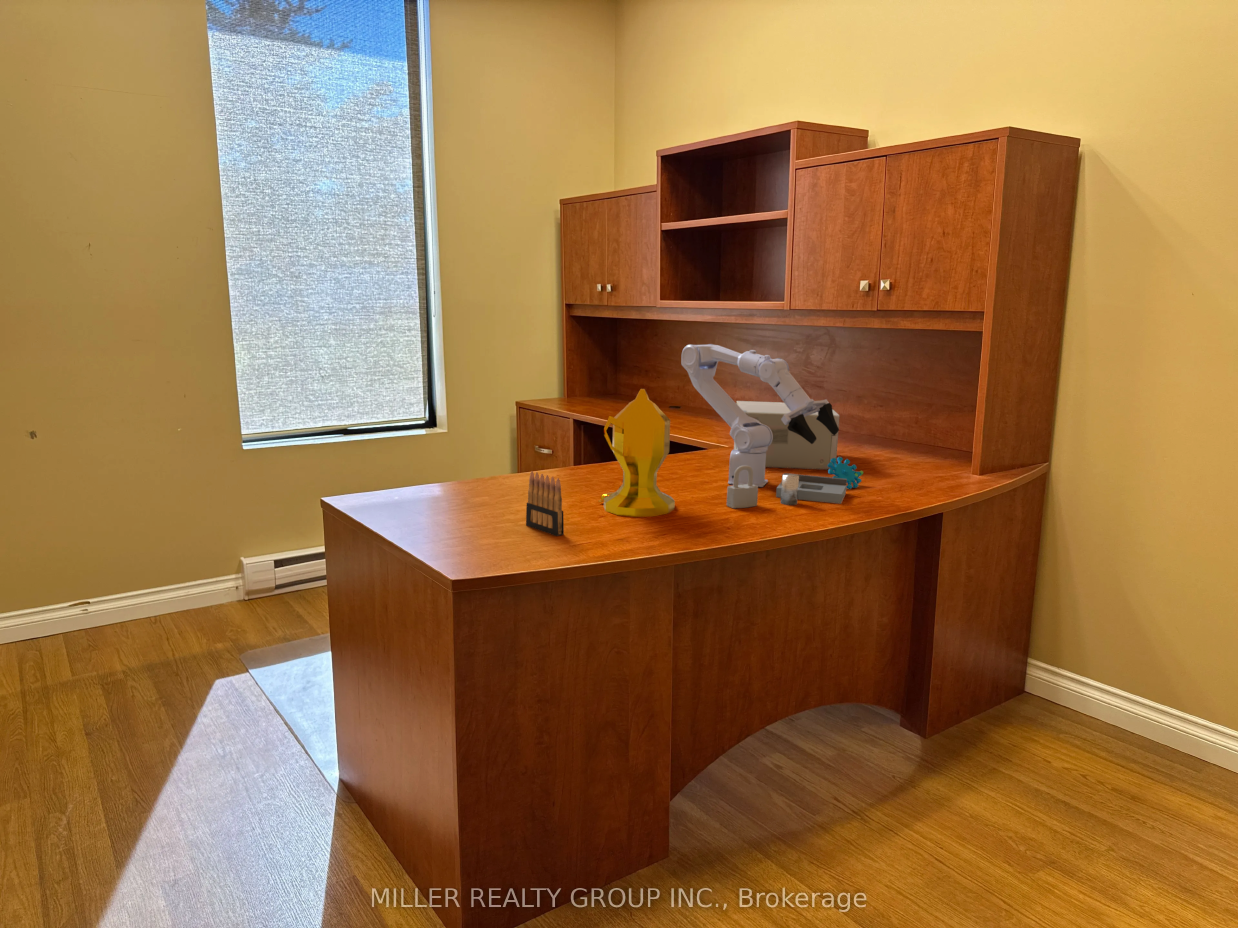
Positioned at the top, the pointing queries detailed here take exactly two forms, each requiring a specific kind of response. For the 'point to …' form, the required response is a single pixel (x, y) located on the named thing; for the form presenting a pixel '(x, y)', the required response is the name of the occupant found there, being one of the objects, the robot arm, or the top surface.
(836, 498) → the plate
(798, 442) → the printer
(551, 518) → the ammunition clip
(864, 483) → the top surface
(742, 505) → the padlock
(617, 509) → the trophy cup
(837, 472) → the gear
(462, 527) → the top surface
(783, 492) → the cylindrical peg
